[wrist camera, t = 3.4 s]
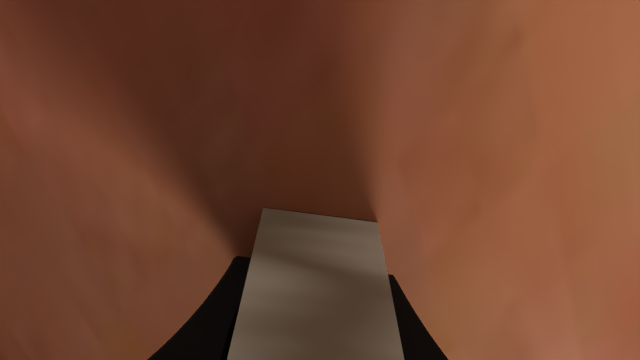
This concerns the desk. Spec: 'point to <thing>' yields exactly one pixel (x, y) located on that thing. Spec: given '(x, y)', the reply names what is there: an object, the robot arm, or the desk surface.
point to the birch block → (316, 292)
